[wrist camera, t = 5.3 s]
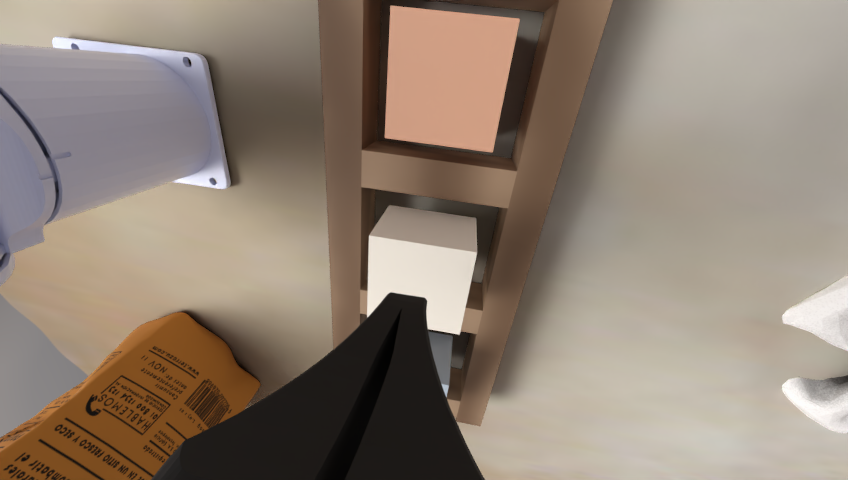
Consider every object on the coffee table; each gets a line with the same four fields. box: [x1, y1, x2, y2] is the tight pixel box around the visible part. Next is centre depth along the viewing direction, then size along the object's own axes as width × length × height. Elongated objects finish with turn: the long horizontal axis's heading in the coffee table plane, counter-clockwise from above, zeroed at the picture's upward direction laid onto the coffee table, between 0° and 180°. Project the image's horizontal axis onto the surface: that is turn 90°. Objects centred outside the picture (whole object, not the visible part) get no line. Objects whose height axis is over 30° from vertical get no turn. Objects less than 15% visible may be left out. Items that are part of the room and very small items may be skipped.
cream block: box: [367, 205, 477, 335], centre depth 17 cm, size 5×5×4 cm
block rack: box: [318, 0, 613, 426], centre depth 20 cm, size 12×30×3 cm, turn 174°
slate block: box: [428, 331, 453, 397], centre depth 21 cm, size 5×5×4 cm
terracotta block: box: [385, 6, 520, 153], centre depth 15 cm, size 5×5×4 cm
